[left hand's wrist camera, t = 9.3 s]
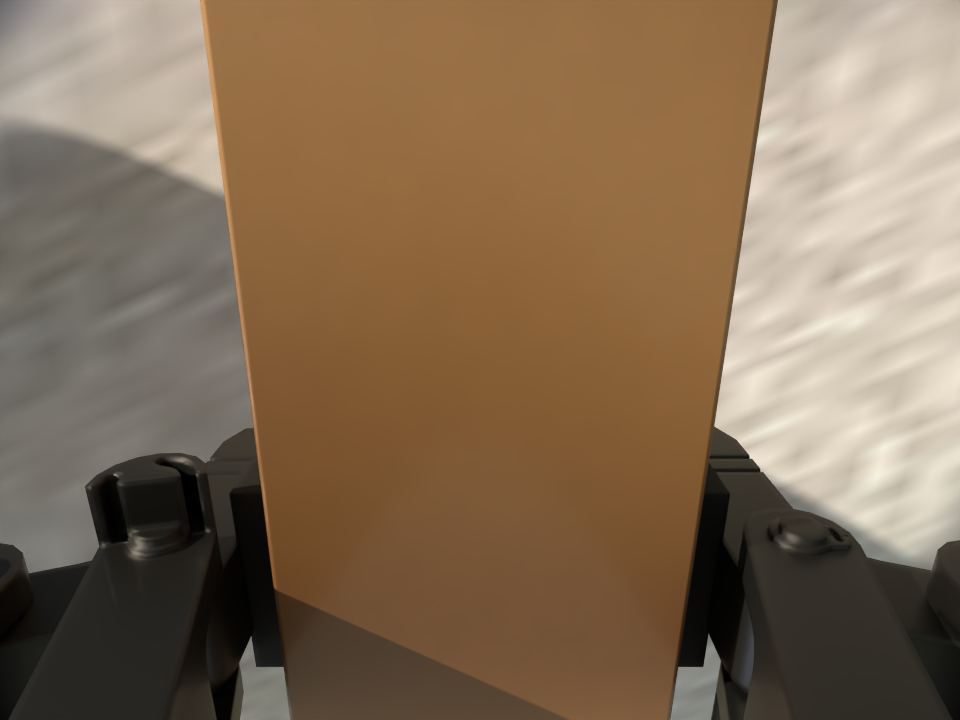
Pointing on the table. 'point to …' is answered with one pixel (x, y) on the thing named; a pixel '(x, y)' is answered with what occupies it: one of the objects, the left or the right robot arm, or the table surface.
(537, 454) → the beam
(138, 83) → the table surface
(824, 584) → the left robot arm
